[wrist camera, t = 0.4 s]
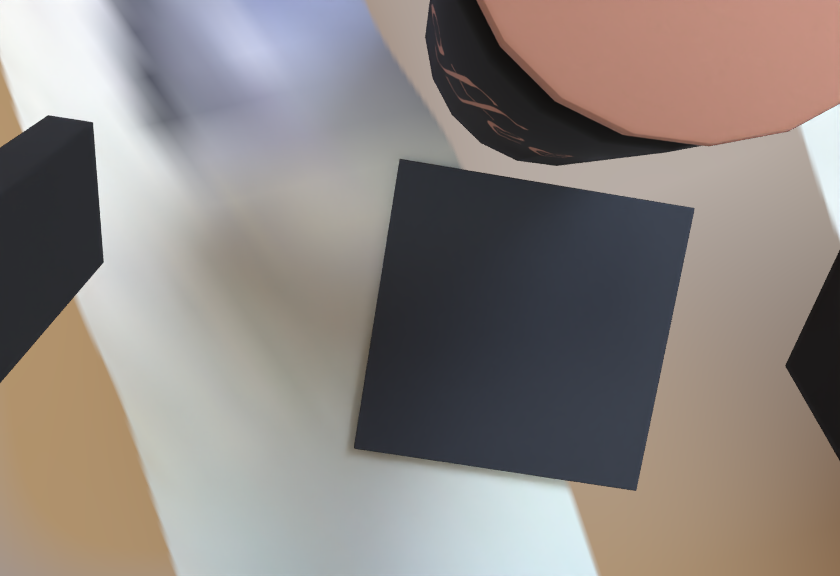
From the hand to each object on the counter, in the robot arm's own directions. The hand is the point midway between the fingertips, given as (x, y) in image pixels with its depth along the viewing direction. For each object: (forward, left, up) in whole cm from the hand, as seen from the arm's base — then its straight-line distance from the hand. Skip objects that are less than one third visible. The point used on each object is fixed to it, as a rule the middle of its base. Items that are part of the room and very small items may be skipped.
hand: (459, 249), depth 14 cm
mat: (-4, -5, -20) cm, 21 cm away
